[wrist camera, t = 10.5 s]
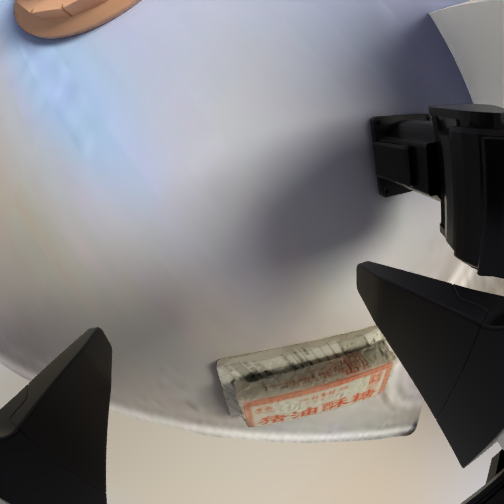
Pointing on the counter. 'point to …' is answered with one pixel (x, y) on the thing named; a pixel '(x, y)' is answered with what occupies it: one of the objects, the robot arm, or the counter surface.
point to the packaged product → (306, 377)
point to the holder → (67, 15)
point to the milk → (476, 46)
